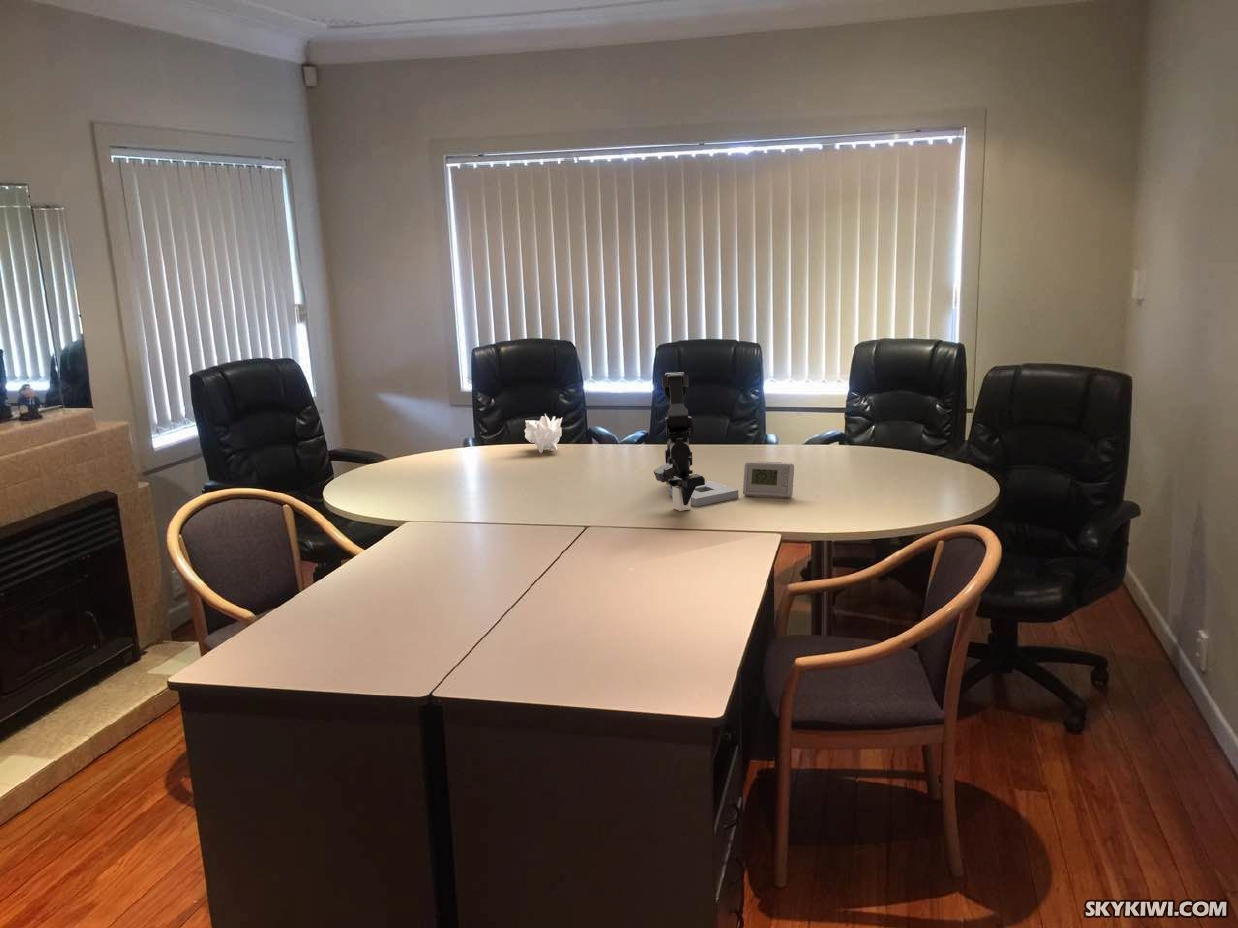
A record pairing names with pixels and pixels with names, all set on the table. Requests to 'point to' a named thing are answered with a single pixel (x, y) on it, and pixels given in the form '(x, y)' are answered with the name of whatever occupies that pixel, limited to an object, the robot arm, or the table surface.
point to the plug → (679, 498)
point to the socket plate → (711, 493)
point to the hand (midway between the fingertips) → (681, 503)
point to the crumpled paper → (544, 433)
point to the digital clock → (768, 479)
